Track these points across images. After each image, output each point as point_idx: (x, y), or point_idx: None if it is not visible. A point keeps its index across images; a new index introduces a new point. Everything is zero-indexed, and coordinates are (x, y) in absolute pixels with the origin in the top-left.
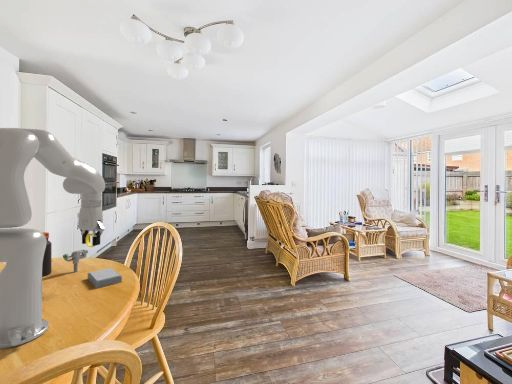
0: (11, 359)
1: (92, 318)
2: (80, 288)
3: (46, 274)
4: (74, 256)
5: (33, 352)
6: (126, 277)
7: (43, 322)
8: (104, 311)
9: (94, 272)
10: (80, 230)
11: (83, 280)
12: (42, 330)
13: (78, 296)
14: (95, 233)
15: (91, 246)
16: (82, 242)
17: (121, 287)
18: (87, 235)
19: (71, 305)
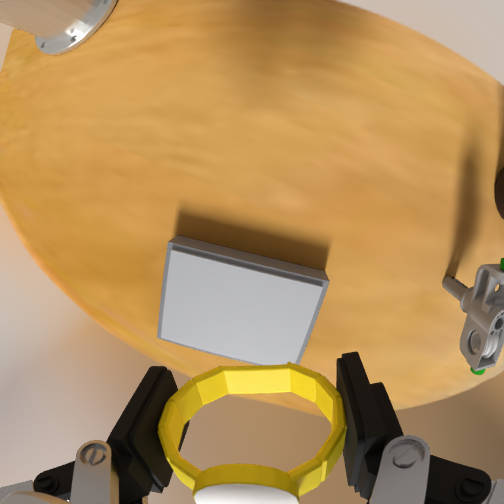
0: None
1: (16, 139)
2: (234, 196)
3: (497, 195)
4: (484, 305)
5: (15, 40)
6: (196, 359)
7: (60, 43)
8: (21, 173)
9: (300, 301)
10: (474, 475)
11: (322, 250)
12: (37, 44)
13: (157, 156)
14: (78, 479)
15: (222, 369)
16: (350, 361)
17: (116, 292)
18: (301, 466)
19: (108, 116)
